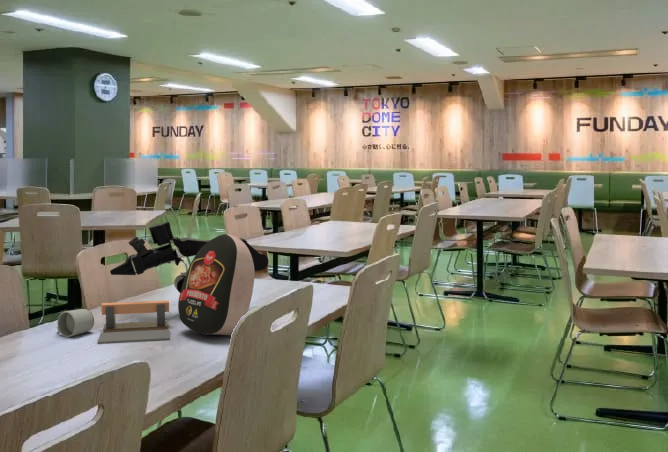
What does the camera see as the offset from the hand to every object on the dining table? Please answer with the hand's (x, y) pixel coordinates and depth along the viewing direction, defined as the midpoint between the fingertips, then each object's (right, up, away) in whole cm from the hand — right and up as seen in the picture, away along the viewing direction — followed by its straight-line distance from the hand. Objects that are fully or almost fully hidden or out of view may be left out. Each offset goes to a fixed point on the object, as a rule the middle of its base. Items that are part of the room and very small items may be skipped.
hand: (110, 272), depth 220 cm
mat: (+13, -18, -17) cm, 28 cm away
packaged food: (+36, -18, -12) cm, 42 cm away
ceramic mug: (-7, -18, -14) cm, 23 cm away
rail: (+10, -12, -7) cm, 17 cm away
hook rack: (+10, -17, -7) cm, 21 cm away
